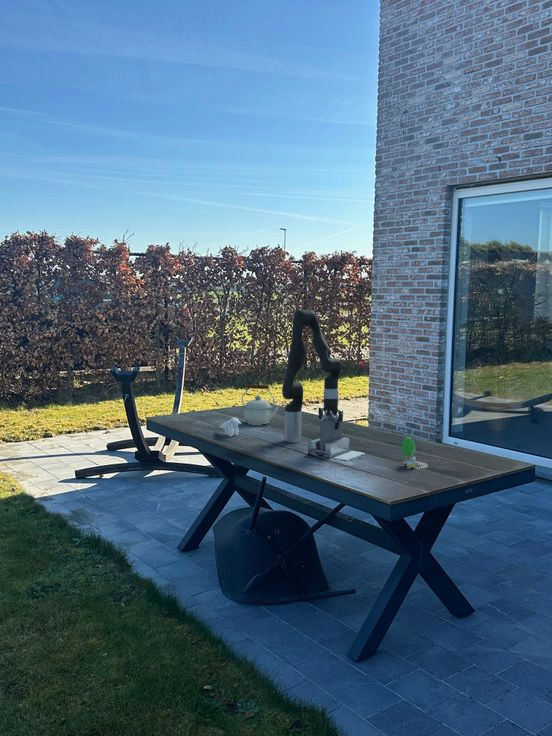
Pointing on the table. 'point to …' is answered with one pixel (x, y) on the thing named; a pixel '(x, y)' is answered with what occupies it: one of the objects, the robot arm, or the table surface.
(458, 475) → the table surface
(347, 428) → the table surface
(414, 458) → the train set
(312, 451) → the vise
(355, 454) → the mat
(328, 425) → the hip flask
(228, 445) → the table surface
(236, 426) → the white dinosaur figurine
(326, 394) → the robot arm
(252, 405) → the kettle
